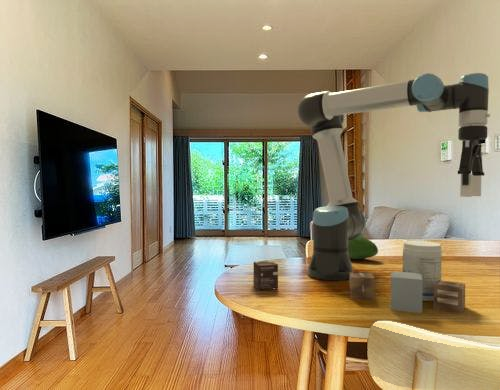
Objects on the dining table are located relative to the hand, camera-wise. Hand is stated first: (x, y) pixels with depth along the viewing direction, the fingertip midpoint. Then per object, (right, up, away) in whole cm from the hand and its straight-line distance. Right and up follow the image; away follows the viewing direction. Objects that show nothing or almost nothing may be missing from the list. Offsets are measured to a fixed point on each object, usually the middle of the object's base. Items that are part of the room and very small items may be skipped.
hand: (471, 196), depth 112 cm
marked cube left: (-37, -27, -13) cm, 48 cm away
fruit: (-22, -27, +42) cm, 54 cm away
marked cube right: (-18, -28, -21) cm, 39 cm away
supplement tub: (-21, -28, -12) cm, 36 cm away
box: (-63, -28, -2) cm, 69 cm away
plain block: (-29, -28, -20) cm, 45 cm away
